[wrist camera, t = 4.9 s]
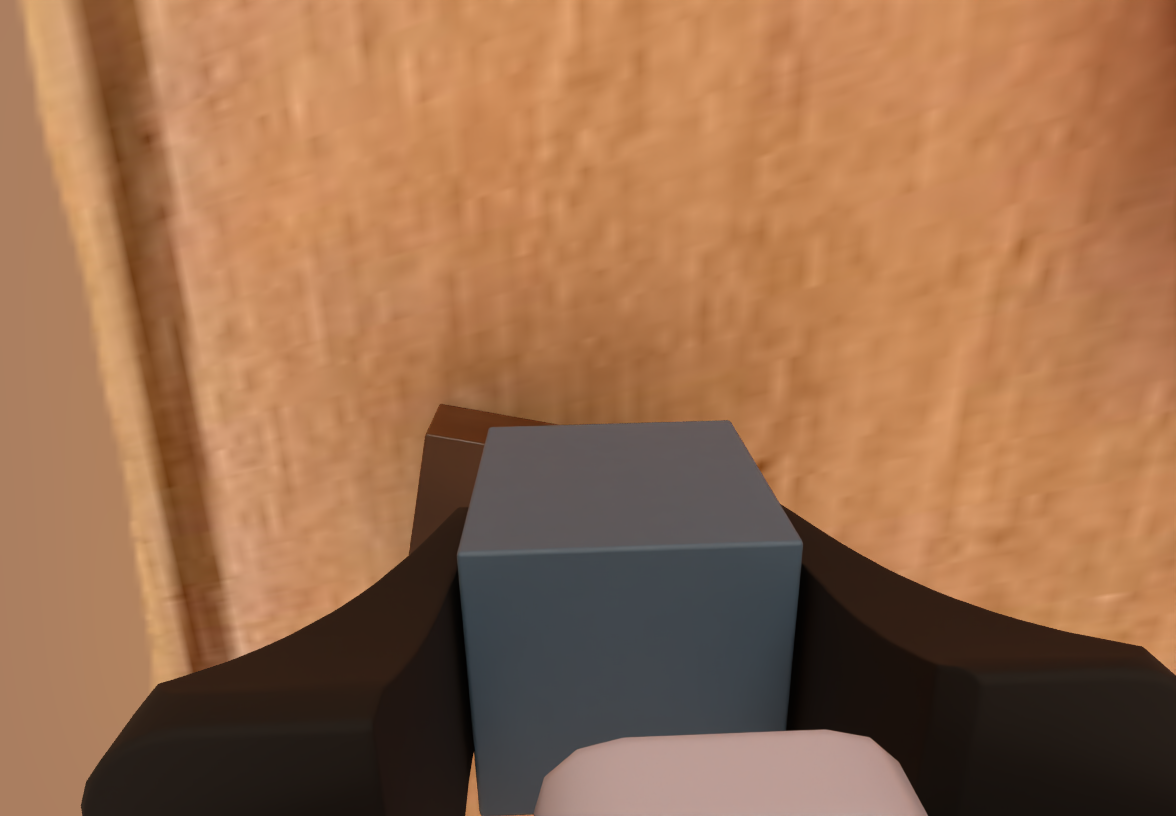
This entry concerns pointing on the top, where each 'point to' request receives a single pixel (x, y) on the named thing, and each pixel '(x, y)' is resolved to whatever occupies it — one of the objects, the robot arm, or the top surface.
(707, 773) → the robot arm
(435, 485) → the walnut tile
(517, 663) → the grey cube
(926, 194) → the top surface
